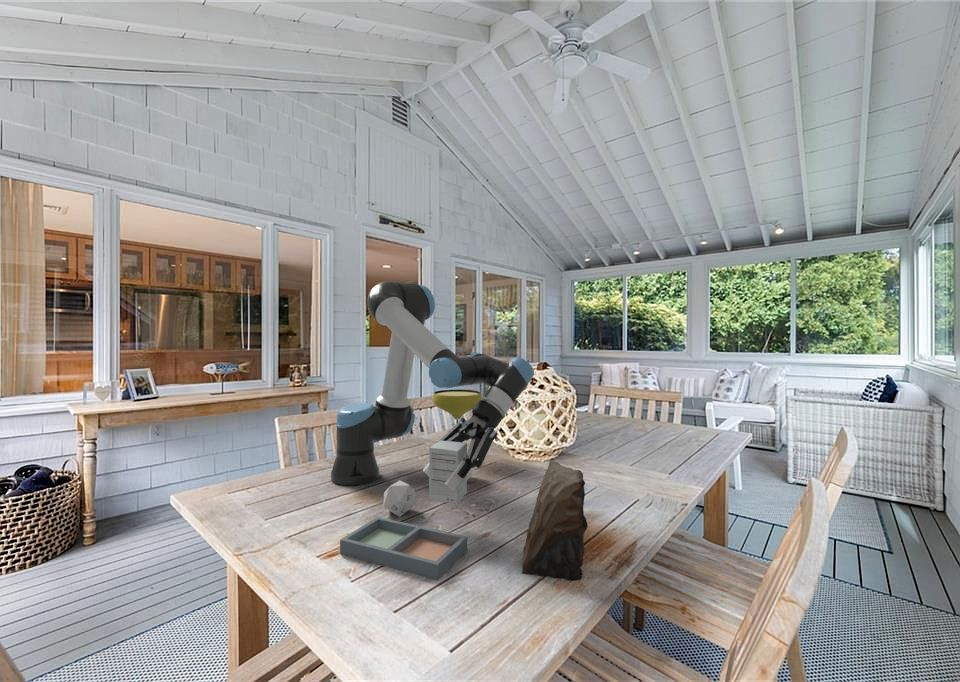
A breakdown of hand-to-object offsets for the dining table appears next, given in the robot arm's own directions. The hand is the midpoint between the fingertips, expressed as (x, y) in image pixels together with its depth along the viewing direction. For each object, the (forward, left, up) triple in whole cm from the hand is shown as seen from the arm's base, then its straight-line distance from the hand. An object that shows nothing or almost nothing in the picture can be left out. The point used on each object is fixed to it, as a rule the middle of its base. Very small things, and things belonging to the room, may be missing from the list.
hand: (437, 480), depth 106 cm
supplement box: (+1, +3, -5) cm, 6 cm away
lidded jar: (-13, +36, -13) cm, 40 cm away
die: (-15, +6, -13) cm, 20 cm away
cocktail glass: (-24, +56, -13) cm, 62 cm away
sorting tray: (-2, -11, -12) cm, 17 cm away
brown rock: (+28, -3, -13) cm, 31 cm away
